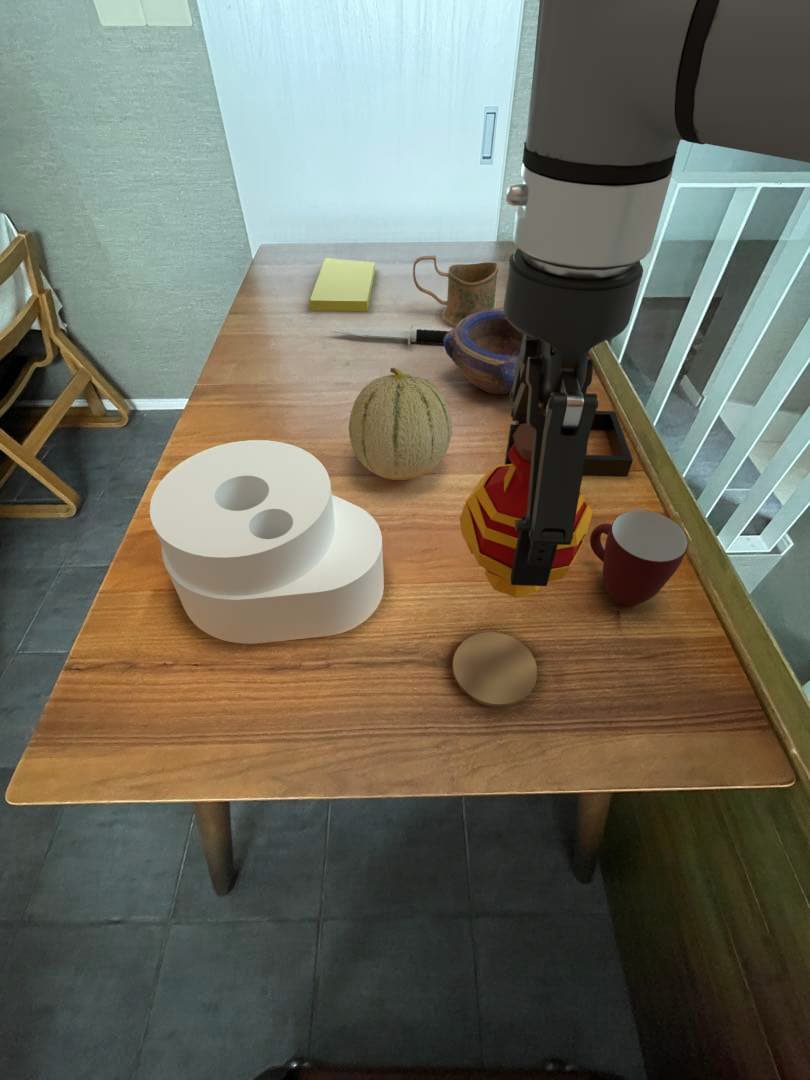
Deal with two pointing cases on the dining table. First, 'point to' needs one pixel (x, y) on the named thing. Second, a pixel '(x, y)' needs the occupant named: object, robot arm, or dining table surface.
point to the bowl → (486, 350)
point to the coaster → (494, 669)
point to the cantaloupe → (400, 426)
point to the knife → (400, 334)
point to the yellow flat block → (343, 286)
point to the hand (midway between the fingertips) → (522, 531)
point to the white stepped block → (266, 545)
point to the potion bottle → (512, 519)
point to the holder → (622, 456)
